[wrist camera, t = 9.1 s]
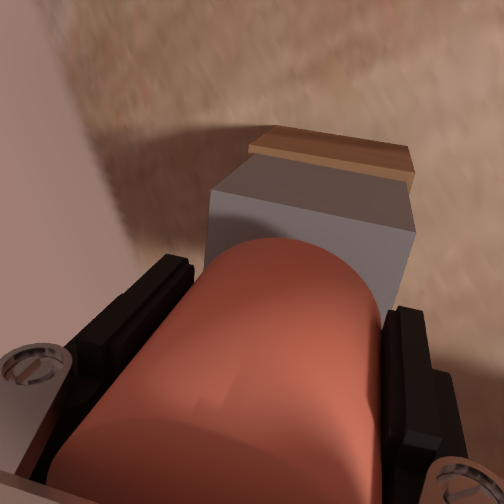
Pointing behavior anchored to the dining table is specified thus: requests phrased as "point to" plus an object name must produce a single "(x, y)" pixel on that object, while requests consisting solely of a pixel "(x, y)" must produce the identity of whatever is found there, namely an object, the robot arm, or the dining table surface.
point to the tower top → (317, 217)
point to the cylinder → (244, 392)
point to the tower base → (337, 152)
